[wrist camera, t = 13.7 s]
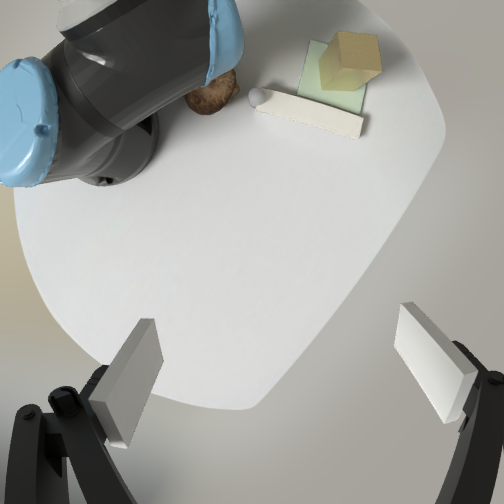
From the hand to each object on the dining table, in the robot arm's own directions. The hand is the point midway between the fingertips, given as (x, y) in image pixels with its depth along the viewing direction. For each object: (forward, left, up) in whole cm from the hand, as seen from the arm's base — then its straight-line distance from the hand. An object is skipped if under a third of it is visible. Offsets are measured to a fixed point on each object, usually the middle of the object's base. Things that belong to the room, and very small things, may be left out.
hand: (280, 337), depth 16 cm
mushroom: (-17, +11, -29) cm, 35 cm away
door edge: (-5, +16, -29) cm, 33 cm away
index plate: (-5, +23, -29) cm, 37 cm away
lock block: (-5, +23, -28) cm, 37 cm away
